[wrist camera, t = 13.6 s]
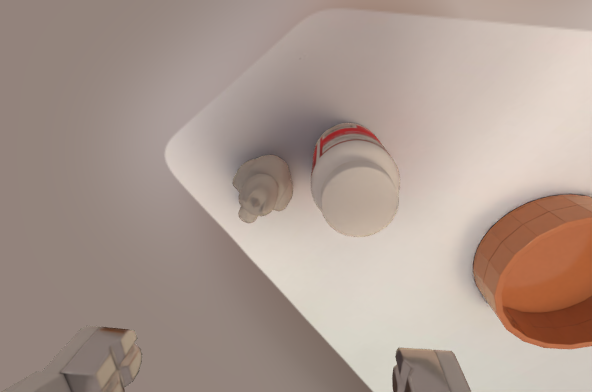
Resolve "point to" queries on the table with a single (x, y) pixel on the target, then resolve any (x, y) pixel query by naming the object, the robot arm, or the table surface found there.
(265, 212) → the grey rounded lumpy piece
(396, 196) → the pill bottle
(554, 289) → the terracotta dish
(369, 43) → the table surface
